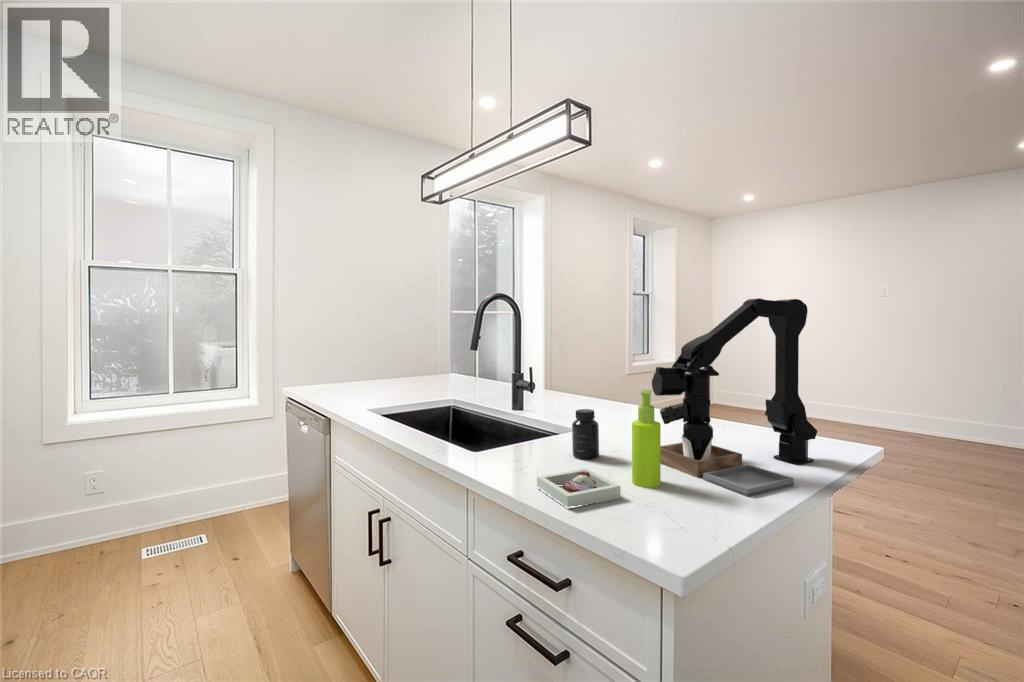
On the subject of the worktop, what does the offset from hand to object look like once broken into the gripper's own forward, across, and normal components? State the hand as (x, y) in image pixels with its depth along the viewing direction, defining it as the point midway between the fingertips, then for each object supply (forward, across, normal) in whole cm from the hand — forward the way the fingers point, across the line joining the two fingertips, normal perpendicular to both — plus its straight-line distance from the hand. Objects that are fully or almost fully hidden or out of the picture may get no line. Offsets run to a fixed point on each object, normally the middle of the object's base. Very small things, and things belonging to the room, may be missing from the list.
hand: (696, 458), depth 112 cm
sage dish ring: (+2, +28, -23) cm, 36 cm away
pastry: (+2, +28, -22) cm, 36 cm away
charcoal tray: (+2, +10, +10) cm, 14 cm away
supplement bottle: (+2, +1, -27) cm, 27 cm away
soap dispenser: (+2, +16, -11) cm, 19 cm away
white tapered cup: (+2, 0, 0) cm, 2 cm away
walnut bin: (+2, 0, 0) cm, 2 cm away
